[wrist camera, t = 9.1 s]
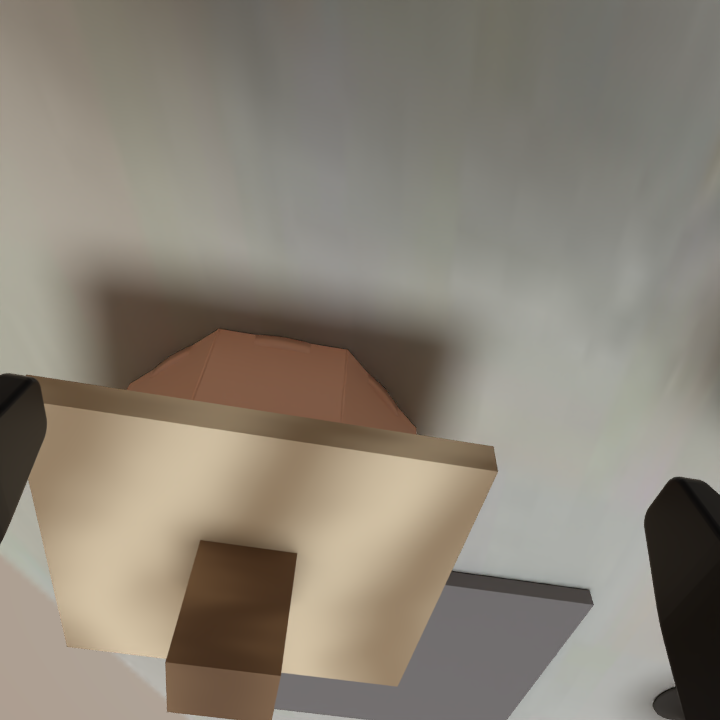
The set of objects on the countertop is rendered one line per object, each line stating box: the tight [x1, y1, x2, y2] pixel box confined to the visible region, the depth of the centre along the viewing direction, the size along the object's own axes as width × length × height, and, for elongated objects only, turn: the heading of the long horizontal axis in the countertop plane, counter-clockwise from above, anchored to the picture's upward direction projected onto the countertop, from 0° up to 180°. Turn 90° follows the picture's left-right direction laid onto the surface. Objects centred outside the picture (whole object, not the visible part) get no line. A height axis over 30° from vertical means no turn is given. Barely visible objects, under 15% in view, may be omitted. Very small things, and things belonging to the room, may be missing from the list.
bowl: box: [127, 329, 416, 434], centre depth 24 cm, size 12×12×5 cm
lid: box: [26, 375, 498, 720], centre depth 20 cm, size 14×14×5 cm
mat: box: [274, 572, 594, 720], centre depth 35 cm, size 16×16×1 cm
